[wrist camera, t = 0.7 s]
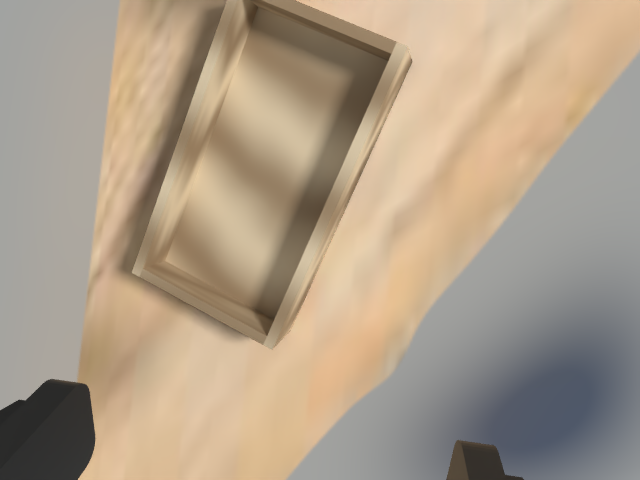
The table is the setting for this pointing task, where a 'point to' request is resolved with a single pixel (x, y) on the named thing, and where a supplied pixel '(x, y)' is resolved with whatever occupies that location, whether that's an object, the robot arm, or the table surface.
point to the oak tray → (268, 161)
